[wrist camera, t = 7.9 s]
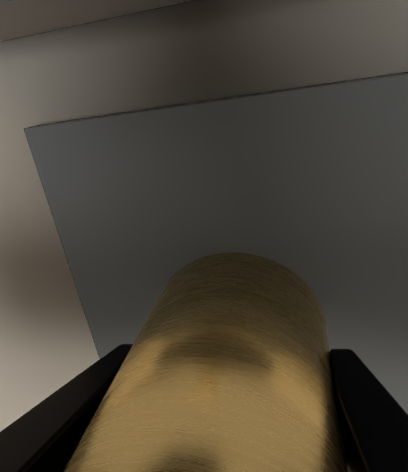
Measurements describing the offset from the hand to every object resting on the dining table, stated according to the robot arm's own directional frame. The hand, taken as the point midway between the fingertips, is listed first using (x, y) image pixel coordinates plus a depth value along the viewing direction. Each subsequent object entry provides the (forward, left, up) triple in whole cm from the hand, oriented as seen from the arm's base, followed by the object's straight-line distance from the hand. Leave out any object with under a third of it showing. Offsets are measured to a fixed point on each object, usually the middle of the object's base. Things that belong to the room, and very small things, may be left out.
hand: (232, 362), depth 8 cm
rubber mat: (0, 0, -3) cm, 3 cm away
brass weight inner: (0, 0, -1) cm, 1 cm away
